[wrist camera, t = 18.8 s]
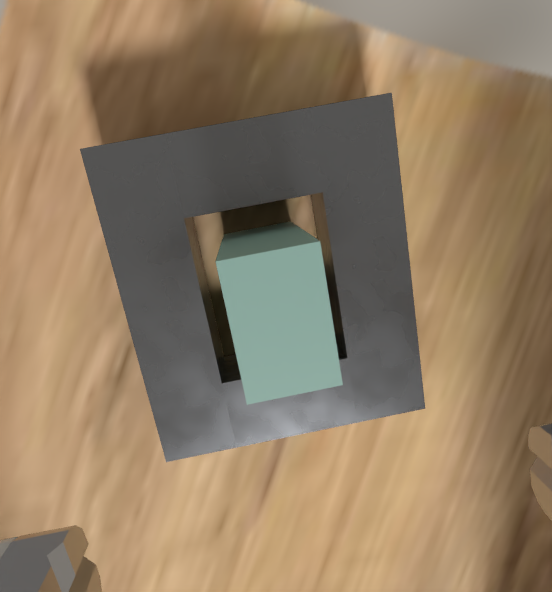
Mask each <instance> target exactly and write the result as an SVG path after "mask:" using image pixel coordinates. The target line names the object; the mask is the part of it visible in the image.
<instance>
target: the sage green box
mask: <svg viewBox="0 0 552 592" xmlns="http://www.w3.org/2000/svg"><path fill="white" fill-rule="evenodd" d="M216 266H217V270H218V275H219V280H220V284H221V289H222V293H223V298H224V302H225V307H226V311H227V316H228V321H229V325H230V330H231V334H232V339H233V343H234V348H235V352H236V357H237V362H238V366H239V371H240V375H241V380H242V384H243V389H244V394H245V398H246V403H247V405H248V404H253V403H258V402H263V401H268V400H273V399H278V398H282V397H287V396H292V395H297V394H302V393H307V392H312V391H316V390H321V389H326V388H331V387H336V386H341V385H343V383H342V376H341V370H340V364H339V357H338V351H337V345H336V338H335V332H334V326H333V319H332V313H331V307H330V300H329V294H328V288H327V281H326V275H325V269H324V262H323V256H322V250H321V243H320V241H319V240H318V239H316V238H315V237H313V236H312V235H310V234H309V233H307V232H306V231H304V230H303V229H301V228H300V227H298V226H297V225H295V224H294V223H292V222H291V221H290V222H285V223H279V224H274V225H269V226H264V227H259V228H253V229H248V230H243V231H238V232H233V233H227V234H224V236H223V239H222V242H221V246H220V249H219V252H218V255H217V259H216Z"/></svg>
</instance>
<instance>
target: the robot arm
mask: <svg viewBox="0 0 552 592" xmlns="http://www.w3.org/2000/svg"><path fill="white" fill-rule="evenodd" d="M528 448H529V449H530V450H531V451H532V452H533V453H534V454H535V455H536V456H537V458H536V460H535V461H534V463H533V465H532V466H531V468H530V478H531V486H532V489H533V492H534V494H535V497H536V499H537V502H538V503H539V505H540V507H541V508H542V510H543V511H544V513H545V514H546V515H547V516H548V517H549V519H550V520H551V521H552V423H548V424H543V425H539V426H534V427H531V428H530V431H529V434H528ZM87 546H88V541H87V539H86V537H85V534H84V532H83V529H82V528H80V527H78V526H76V525H75V526H70V527H65V528H59V529H54V530H49V531H44V532H39V533H33V534H28V535H23V536H20V537H14V538H9V539H4V540H0V592H102V588H101V581H100V575H99V572H98V569H97V566H96V564H94V563H93V562H91V561H90V560H88V559H87V558H85V557H84V554H85V551H86V549H87Z"/></svg>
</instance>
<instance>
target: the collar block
mask: <svg viewBox="0 0 552 592" xmlns="http://www.w3.org/2000/svg"><path fill="white" fill-rule="evenodd" d="M80 151H81V155H82V158H83V162H84V166H85V169H86V173H87V177H88V180H89V184H90V187H91V191H92V195H93V198H94V202H95V205H96V209H97V213H98V216H99V220H100V224H101V227H102V231H103V234H104V238H105V242H106V245H107V249H108V253H109V256H110V260H111V263H112V267H113V271H114V274H115V278H116V281H117V285H118V289H119V292H120V296H121V300H122V303H123V307H124V310H125V314H126V318H127V321H128V325H129V329H130V332H131V336H132V339H133V343H134V347H135V350H136V354H137V357H138V361H139V365H140V368H141V372H142V376H143V379H144V383H145V386H146V390H147V394H148V397H149V401H150V405H151V408H152V412H153V415H154V419H155V423H156V426H157V430H158V434H159V437H160V441H161V444H162V448H163V452H164V455H165V459H166V462H168V461H173V460H178V459H183V458H188V457H193V456H197V455H202V454H207V453H212V452H217V451H222V450H227V449H231V448H236V447H241V446H246V445H251V444H256V443H260V442H265V441H270V440H275V439H280V438H285V437H289V436H294V435H299V434H304V433H309V432H314V431H318V430H323V429H328V428H333V427H338V426H343V425H348V424H352V423H357V422H362V421H367V420H372V419H377V418H381V417H386V416H391V415H396V414H401V413H406V412H410V411H415V410H420V409H425V402H424V393H423V383H422V374H421V364H420V355H419V346H418V336H417V327H416V317H415V308H414V298H413V289H412V280H411V270H410V261H409V251H408V242H407V232H406V223H405V214H404V204H403V195H402V185H401V176H400V166H399V157H398V148H397V138H396V129H395V119H394V110H393V100H392V93H387V94H382V95H376V96H371V97H365V98H360V99H354V100H349V101H343V102H338V103H332V104H326V105H321V106H315V107H310V108H304V109H299V110H293V111H288V112H282V113H277V114H271V115H266V116H260V117H254V118H249V119H243V120H238V121H232V122H227V123H221V124H216V125H210V126H205V127H199V128H194V129H188V130H183V131H177V132H171V133H166V134H160V135H155V136H149V137H144V138H138V139H133V140H127V141H122V142H116V143H111V144H105V145H99V146H94V147H88V148H83V149H80ZM306 195H311V199H312V206H313V212H314V218H315V225H316V231H317V237H318V240H319V241H320V243H321V250H322V256H323V262H324V269H325V275H326V281H327V288H328V294H329V300H330V307H331V313H332V319H333V326H334V332H335V338H336V345H337V351H338V357H339V364H340V370H341V376H342V383H343V385H341V386H336V387H331V388H326V389H321V390H316V391H312V392H307V393H302V394H297V395H292V396H287V397H282V398H278V399H273V400H268V401H263V402H258V403H253V404H248V405H247V403H246V398H245V394H244V389H243V384H242V380H241V375H240V371H239V366H238V362H237V357H236V354H233V355H228V356H224V354H223V349H222V345H221V340H220V336H219V331H218V327H217V323H216V318H215V314H214V309H213V305H212V300H211V296H210V291H209V287H208V282H207V278H206V273H205V269H204V264H203V260H202V256H201V251H200V247H199V242H198V238H197V233H196V229H195V224H194V220H193V217H194V216H199V215H204V214H210V213H215V212H220V211H226V210H231V209H236V208H242V207H247V206H252V205H258V204H263V203H268V202H274V201H279V200H284V199H290V198H295V197H300V196H306Z"/></svg>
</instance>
